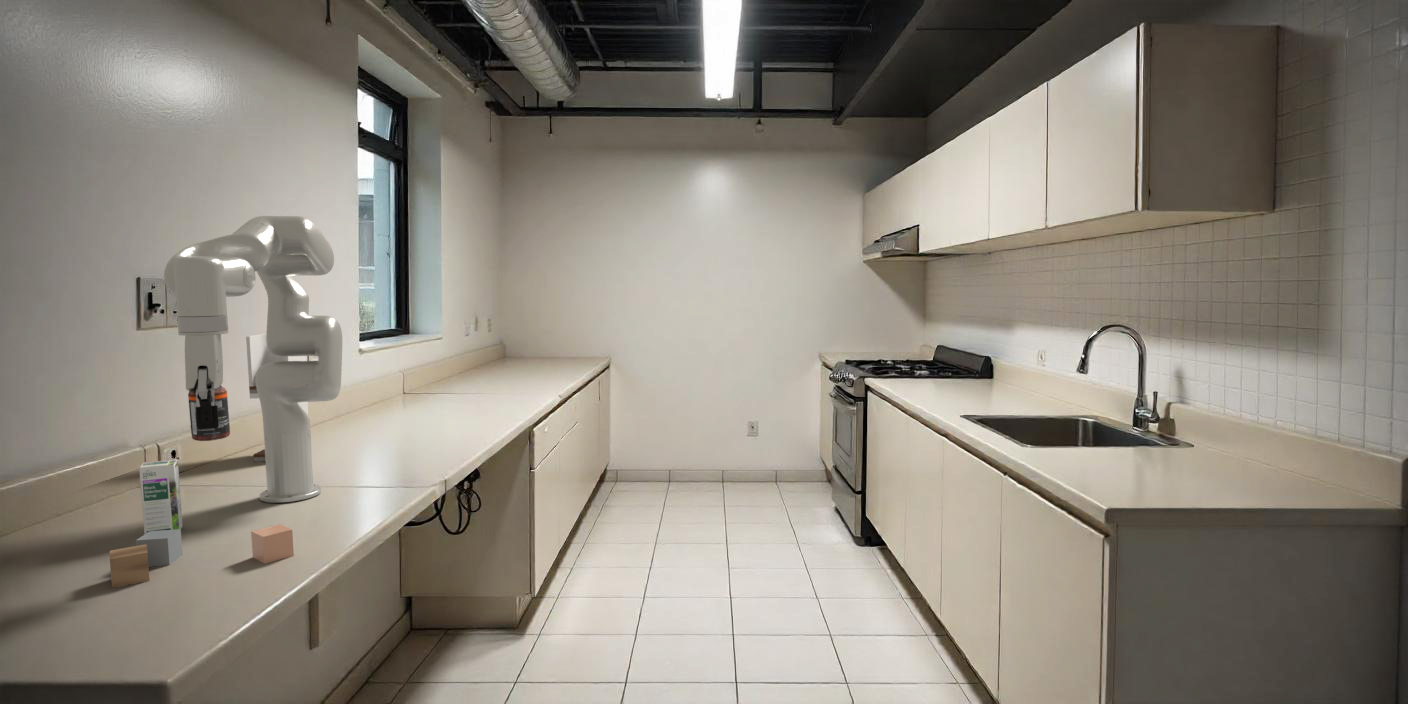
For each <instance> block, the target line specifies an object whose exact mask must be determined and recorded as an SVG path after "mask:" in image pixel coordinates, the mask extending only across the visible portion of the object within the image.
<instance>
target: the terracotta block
mask: <svg viewBox="0 0 1408 704" xmlns="http://www.w3.org/2000/svg"><path fill="white" fill-rule="evenodd" d="M250 533H251V535H250V537H251V549H252V551H251V552H252V558H253V559H255V560H257V561H259V562H261V563H262V564H263V565H264V564H268V563H272V562H275V561H279V560H282V559H286V558H290V557H291V558H292V557H293V556H295V553H294V541H293V539H294V537H293V529H292V528H289V527H287V526H285V525H284V524H283V525H282V524H275V525H271V526H268V527H264V528H263V527H262V528H258V529H256V530H251V531H250Z"/></svg>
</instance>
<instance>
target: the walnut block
mask: <svg viewBox="0 0 1408 704" xmlns="http://www.w3.org/2000/svg"><path fill="white" fill-rule="evenodd" d="M109 566H110V576H111V577H110V578H111V588H112V589H115V588H120V587H124V586H123V585H125V586H129V585H128V584H130V585H135V584H139V582H140V583H144V581H145V582H149V581H150V571H149V570H150V567H149V566H148V553H147V544H145V545H139V546H136V545H135V546H128V547H124V548H117V549H112V550H109ZM134 583H135V584H134ZM119 586H120V587H119ZM114 587H115V588H114Z"/></svg>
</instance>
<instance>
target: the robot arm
mask: <svg viewBox="0 0 1408 704" xmlns="http://www.w3.org/2000/svg"><path fill="white" fill-rule="evenodd" d="M334 254H335V253H334V250H333V248H332V246H331V243H330V242H329V241H328V239H326V237H325V235H324V234H323V232H322V231H321V230H320V228H318V226H317V225H316V224H315V223H314V222H313V221H311V220H310V219H308V218H307V217H304V216H301V215H262V216H261V215H260V216H255V217H253V218H251V219H249V220H248V221H247V222H245V223H244V224H243V225H241V226H240V227H239V228H238V229H237V230H235V231H234V232H233V233H231V234H228V235H223V236H219V237H216V238H212V239H209V240H208V239H207V240H204V241H200V242H197V243H194V244H191V245H189V246H186V247H183V248H182V249H181V250H179V251H178V252H176V253H175V254H174V255H172V257H171V258H170V259H169V260H168V262H166V265H165V266H164V267H165V268H164V272H163V279H164V283H165V286H166V288H167V289H168V290H169V291H170V292H171V293H172V294H174V295H175V305H176V306H175V307H176V316H177V319H176V320H177V332H178V336H182V337H184V366H185V367H184V370H185V371H184V372H185V373H184V374H185V389H186V390H187V391H188V392H189V391H192V390H193V388H194V387H195V386H196V406H197V407H196V419H197V428H198V429H210V428H218V426H219V421H218V407H217V405H215V390H216V389H217V388H219V387H220V386H222V384H223V381H224V362H223V361H224V360H223V357H224V356H223V345H222V341H223V340H222V335H227V334H229V322H228V321H229V320H228V309H227V307H228V306H227V297H232V298H234V297H241V296H244V295H246V294H249V293H250V292H251V291H252V289H253V288H254V286H255V283H256V273H257V275H258V276H259V278H260V280H261V282H262V285H263V286H264V289H265V291H266V294H267V314H266V315H267V318H266V333H265V334H266V341H267V348H268V350H269V351H270V352H271V353H272V354H274V355H278V356H305V357H317V358H318V360H305V361H279V362H272V363H268V364H266V365H264V366H262V367H261V368H260V369H259V370H258V372H257V374H256V388H257V392H258V395H259V398H258V399H259V403H260V408H261V414H262V416H261V417H262V425H263V426H262V427H263V428H262V429H263V442H264V445H263V446H264V449H265V461H264V462H265V474H266V477H265V478H266V490H264V491H262V492H260V494H259V500H260V501H262V502H265V503H271V504H272V503H273V504H274V503H276V504H277V503H278V504H279V503H280V504H281V503H292V502H297V501H298V502H299V501H302V500H307V499H311V498H314V497H316V496H318V495H320V494H321V492H322V488H321V486H320V485H318V484H314V471H313V455H312V454H313V453H312V437H311V434H312V433H311V421H310V417H309V414H308V415H307V414H306V412H305V411H304V410H303V409H302V408H301V406H300V405H299V404H298V403H299V402H308V403H310V402H311V403H313V402H330V401H333V400H336V399H337V397H338V396H339V394H340V391H341V386H342V370H343V369H342V364H343V331H342V327H341V324H340V323H339V321H338V320H337V319H336V318H334V317H332V316H330V315H309V314H310V313H309V312H310V296H309V294H308V292H307V291H306V290H305V288H304V287H303V286H302V285H301V284H300V283H299V282H298V281H297V280H296V278H294V276H295V277H296V276H297V277H298V276H324V275H327V274H328V273H330V272H331V271H332V269H333V267H334V264H335V256H334ZM255 272H256V273H255ZM211 382H212V384H211ZM195 383H196V385H195ZM207 386H212V388H207ZM210 393H211V394H210Z"/></svg>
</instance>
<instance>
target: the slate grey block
mask: <svg viewBox="0 0 1408 704" xmlns="http://www.w3.org/2000/svg"><path fill="white" fill-rule="evenodd" d="M145 544H147V553H148V566H149V568H151V567H160V566H161V567H163V566H170V565H172V564H173V563H174V562H175V561H177V560H178V559H180V558H181V557H182V556H183V543H182V529H176V530H161V531H149V532H148V533H146V534H145V535H144V534H143V535H142V536H140V537H139V538H137V539H135V546H139V545H145ZM180 556H181V557H180Z"/></svg>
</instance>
